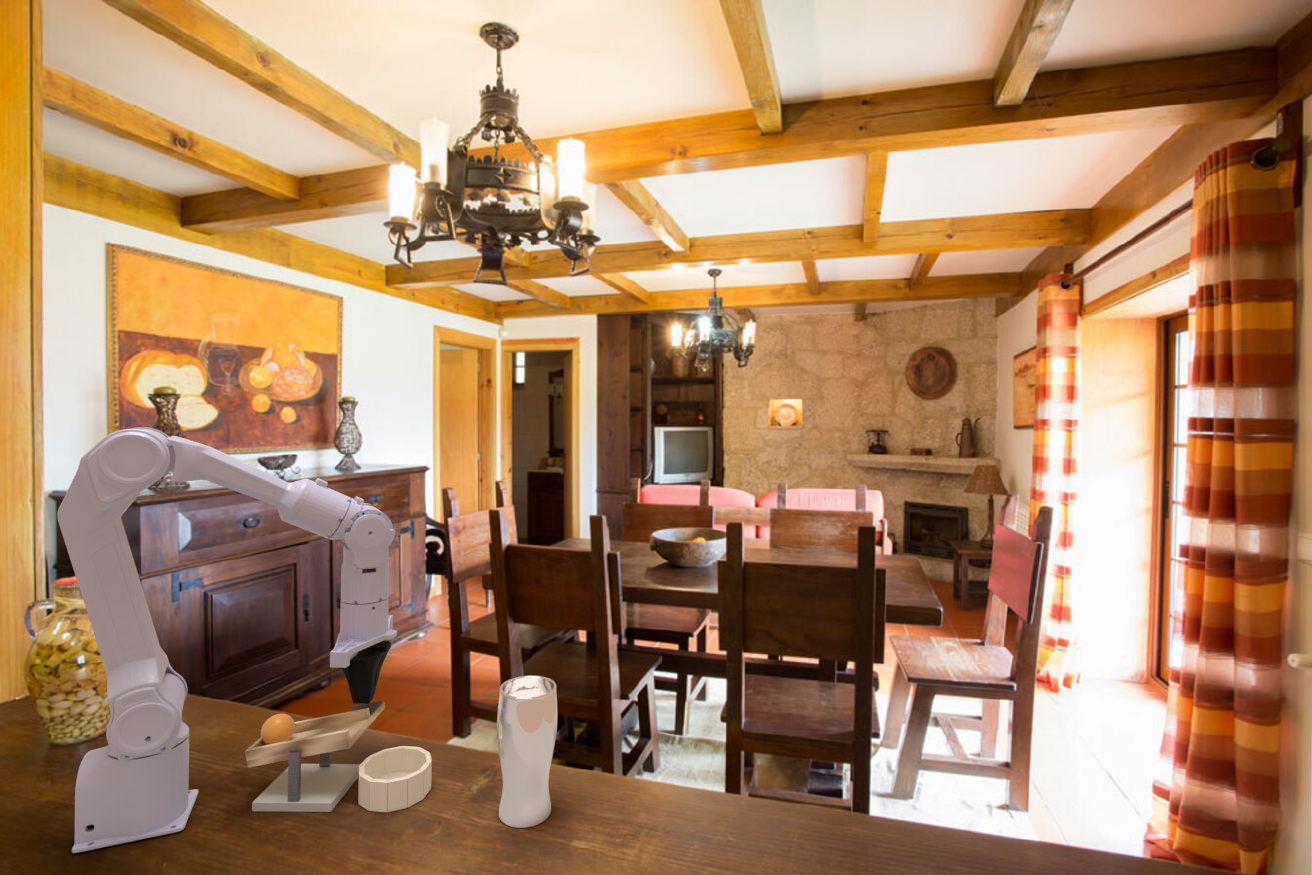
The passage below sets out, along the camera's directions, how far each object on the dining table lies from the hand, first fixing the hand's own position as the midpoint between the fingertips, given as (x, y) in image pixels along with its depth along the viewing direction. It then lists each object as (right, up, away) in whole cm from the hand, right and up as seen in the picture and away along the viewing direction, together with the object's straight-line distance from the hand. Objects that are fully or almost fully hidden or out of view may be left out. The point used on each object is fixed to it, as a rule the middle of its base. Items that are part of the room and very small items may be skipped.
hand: (362, 701), depth 83 cm
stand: (-4, -9, -5) cm, 11 cm away
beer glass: (+23, -10, -8) cm, 26 cm away
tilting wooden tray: (-4, -3, -3) cm, 6 cm away
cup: (+6, -9, -5) cm, 12 cm away
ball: (-8, -1, -6) cm, 10 cm away
